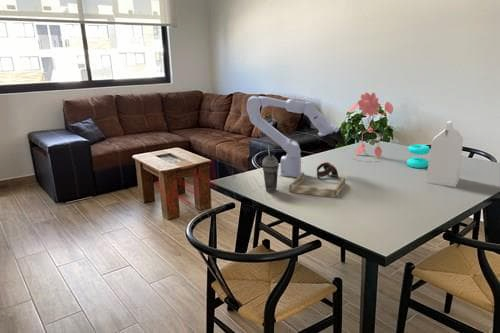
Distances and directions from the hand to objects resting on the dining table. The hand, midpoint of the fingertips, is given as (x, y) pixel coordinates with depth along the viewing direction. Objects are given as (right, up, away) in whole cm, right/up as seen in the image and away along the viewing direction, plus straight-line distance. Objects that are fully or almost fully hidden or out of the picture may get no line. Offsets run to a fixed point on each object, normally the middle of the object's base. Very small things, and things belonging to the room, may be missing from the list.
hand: (339, 144), depth 179 cm
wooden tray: (-12, -20, -14) cm, 27 cm away
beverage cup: (-33, -21, -15) cm, 42 cm away
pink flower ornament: (+21, -6, +27) cm, 35 cm away
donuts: (+41, -10, +9) cm, 43 cm away
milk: (+43, -17, -12) cm, 47 cm away
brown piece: (-6, -15, -1) cm, 16 cm away
